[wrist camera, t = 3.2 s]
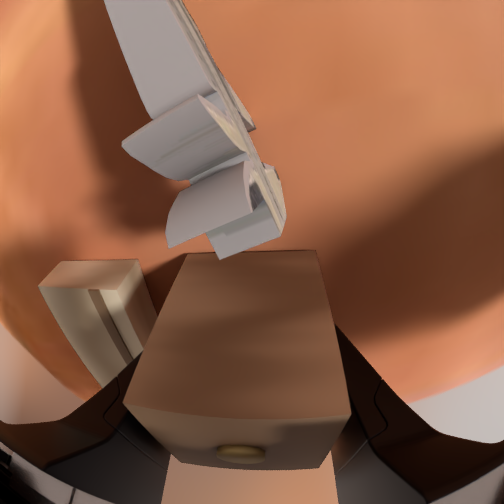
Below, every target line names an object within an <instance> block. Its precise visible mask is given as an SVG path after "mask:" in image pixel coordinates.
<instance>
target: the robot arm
mask: <svg viewBox="0 0 504 504" xmlns="http://www.w3.org/2000/svg"><path fill="white" fill-rule="evenodd" d="M334 326H335V331H336V335H337V340H338V345H339V350H340V354H341V359H342V364H343V370H344V375H345V380H346V386H347V391H348V397H349V403H350V409H351V415H350V417H349V419H348V421H347V423H346V425H345V426H344V428H343V430H342V432H341V433H340V435H339V437H338V438H337V440H336V442H335V443H334V445H333V447H332V448H331V454H332V460H333V467H334V474H335V480H336V488H337V495H338V502H339V504H504V440H503V441H501V442H498V443H482V442H477V441H472V440H467V439H462V438H458V437H454V436H450V435H446V434H443V433H441V432H439V431H437V430H435V429H434V428H432V427H431V426H430V425H429V424H427V423H426V422H425V421H424V420H423V419H422V418H421V417H420V416H419V415H418V414H416V413H415V412H414V411H413V410H412V409H411V408H410V407H409V406H408V405H407V404H406V403H405V402H404V401H403V400H402V399H401V398H399V397H398V396H397V394H396V393H395V392H394V391H393V390H392V389H391V388H390V387H389V386H388V384H387V383H386V382H385V381H384V380H383V379H382V377H381V376H380V375H379V374H378V373H377V372H376V370H375V369H374V368H373V367H372V366H371V365H370V364H369V362H368V361H367V360H366V359H365V358H364V357H363V355H362V354H361V353H360V352H359V351H358V350H357V348H356V347H355V346H354V345H353V344H352V343H351V342H350V340H349V339H348V338H347V337H346V336H345V335H344V334H343V332H342V331H341V330H340V329H339V328H338V327H337V326H336V324H335V323H334ZM142 352H143V351H142ZM142 352H141V353H140V354H139V355H138V356H136V357H135V358H134V359H133V360H132V361H131V362H130V363H129V364H128V365H127V366H126V367H125V368H124V369H123V370H122V371H121V372H120V373H119V374H118V375H117V376H115V377H114V378H113V379H112V380H111V381H110V382H109V383H108V384H107V385H106V386H105V387H104V388H102V389H101V390H100V391H99V392H98V393H97V394H95V395H94V396H93V397H92V398H90V399H89V400H88V401H86V402H85V403H84V404H83V405H81V406H80V407H79V408H77V409H76V410H75V411H73V412H72V413H71V414H69V415H68V416H66V417H64V418H62V419H60V420H57V421H50V422H41V423H30V424H6V423H4V422H2V421H1V420H0V442H2V443H3V444H4V445H5V446H7V447H8V448H9V449H11V450H12V451H13V455H10V454H9V453H7V452H6V451H4V450H3V449H1V448H0V504H161V501H162V495H163V490H164V485H165V480H166V475H167V470H168V465H169V460H170V455H171V453H170V452H169V451H168V450H167V449H166V448H165V447H164V446H163V445H161V444H160V443H159V442H158V441H157V440H156V439H155V438H154V437H153V436H152V435H151V434H150V433H149V431H148V430H147V429H146V428H145V427H144V426H143V425H142V424H141V423H140V422H139V421H138V420H137V419H136V418H135V416H134V415H133V414H132V413H131V412H130V411H129V410H128V408H127V407H126V406H125V405H124V404H123V400H124V398H125V395H126V392H127V390H128V387H129V385H130V382H131V380H132V377H133V374H134V372H135V370H136V367H137V365H138V362H139V360H140V357H141V355H142Z"/></svg>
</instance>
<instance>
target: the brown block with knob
mask: <svg viewBox="0 0 504 504" xmlns="http://www.w3.org/2000/svg"><path fill="white" fill-rule="evenodd" d="M123 404H124V405H125V406H126V407H127V408H128V410H129V411H130V412H131V413H132V414H133V415H134V416H135V418H136V419H137V420H138V421H139V422H140V423H141V424H142V425H143V426H144V427H145V428H146V429H147V430H148V431H149V433H150V434H151V435H152V436H153V437H154V438H155V439H156V440H157V441H158V442H159V443H160V444H161V445H163V446H164V447H165V448H166V449H167V450H168V451H169V452H170V453H171V454H172V455H173V456H174V457H175V458H177V459H178V460H179V461H180V462H182V463H188V464H195V465H202V466H209V467H218V468H229V469H244V470H296V469H313V468H319V467H320V465H321V464H322V462H323V461H324V459H325V458H326V456H327V455H328V453H329V451H330V450H331V448H332V447H333V445H334V443H335V442H336V440H337V438H338V437H339V435H340V433H341V432H342V430H343V428H344V426H345V425H346V423H347V421H348V419H349V417H350V415H351V409H350V403H349V397H348V391H347V386H346V380H345V375H344V370H343V364H342V359H341V354H340V350H339V345H338V340H337V335H336V331H335V326H334V322H333V318H332V313H331V309H330V305H329V301H328V297H327V292H326V288H325V284H324V280H323V277H322V273H321V269H320V265H319V261H318V258H317V254H316V250H311V251H274V252H239V253H236V254H233V255H231V256H228V257H226V258H223V259H221V260H219V258H218V256H217V254H216V253H199V254H187V256H186V258H185V260H184V262H183V264H182V266H181V268H180V271H179V273H178V275H177V277H176V279H175V281H174V283H173V285H172V287H171V289H170V292H169V294H168V296H167V298H166V300H165V302H164V305H163V307H162V309H161V311H160V313H159V316H158V318H157V320H156V322H155V325H154V327H153V329H152V331H151V334H150V336H149V338H148V341H147V343H146V345H145V348H144V350H143V352H142V355H141V357H140V360H139V362H138V365H137V367H136V370H135V372H134V374H133V377H132V380H131V382H130V385H129V387H128V390H127V392H126V395H125V398H124V400H123Z"/></svg>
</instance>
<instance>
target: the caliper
mask: <svg viewBox="0 0 504 504" xmlns="http://www.w3.org/2000/svg"><path fill="white" fill-rule="evenodd" d="M104 3H105V6H106V9H107V11H108V14H109V17H110V20H111V23H112V25H113V28H114V31H115V34H116V36H117V39H118V42H119V44H120V47H121V50H122V52H123V55H124V57H125V60H126V62H127V65H128V68H129V70H130V73H131V75H132V78H133V80H134V83H135V85H136V87H137V90H138V92H139V95H140V97H141V100H142V102H143V104H144V106H145V108H146V110H147V112H148V114H149V115H150V117H151V119H153V120H152V121H151V122H149V123H148V124H146V125H145V126H143V127H142V128H140V129H139V130H137V131H136V132H134V133H133V134H131V135H130V136H128V137H127V138H126V139H124V140H123V141H122V148H123V149H124V150H125V151H126V152H127V153H128V154H129V155H130V156H132V157H133V158H135V159H137V160H138V161H140V162H141V163H143V164H145V165H146V166H148V167H149V168H151V169H152V170H154V171H155V172H157V173H159V174H161V175H162V176H164V177H166V178H169V179H173V180H177V181H181V180H189V181H190V184H191V186H190V187H188V188H186V189H184V190H182V191H180V192H179V194H178V196H177V197H176V199H175V201H174V203H173V205H172V207H171V209H170V212H169V214H168V220H167V225H166V231H165V234H166V239H167V243H168V248H172V247H174V246H176V245H178V244H180V243H183V242H185V241H187V240H189V239H192V238H194V237H196V236H199V235H201V234H203V233H206V235H207V237H208V239H209V241H210V242H211V244H212V246H213V248H214V250H215V252H216V254H217V256H218V258H219V260H221V259H223V258H226V257H228V256H231V255H233V254H236V253H239V252H241V251H244V250H246V249H249V248H252V247H254V246H257V245H259V244H262V243H265V242H267V241H270V240H272V239H275V238H278V237H280V236H281V234H282V231H283V227H284V224H285V221H286V217H287V216H286V210H285V204H284V198H283V192H282V187H281V182H280V179H279V177H278V174H277V172H276V170H275V167H274V166H270V165H268V164H265V163H263V162H261V160H260V158H259V156H258V154H257V151H256V149H255V147H254V145H253V143H252V140H251V138H250V136H249V134H248V132H251V131H253V130H255V129H256V127H255V125H254V123H253V121H252V119H251V117H250V115H249V113H248V111H247V110H246V108H245V107H244V105H243V104H242V102H241V101H240V99H239V98H238V96H237V95H236V93H235V92H234V90H233V89H232V88H231V86H230V85H229V83H228V82H227V80H226V79H225V77H224V76H223V75H222V73H221V72H220V70H219V69H218V67H217V66H216V64H215V62H214V60H213V58H212V56H211V54H210V52H209V51H208V49H207V47H206V44H205V42H204V39H203V37H202V35H201V33H200V31H199V29H198V27H197V25H196V24H195V22H194V20H193V19H192V17H191V15H190V14H189V12H188V10H187V9H186V7H185V5H184V3H183V1H182V0H104Z"/></svg>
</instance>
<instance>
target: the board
mask: <svg viewBox="0 0 504 504" xmlns="http://www.w3.org/2000/svg"><path fill="white" fill-rule="evenodd" d="M38 288H39V290H40V292H41V294H42V296H43V298H44V300H45V301H46V303H47V305H48V307H49V309H50V311H51V312H52V314H53V316H54V318H55V319H56V321H57V323H58V325H59V326H60V328H61V330H62V331H63V333H64V334H65V336H66V338H67V339H68V341H69V342H70V344H71V345H72V347H73V348H74V350H75V351H76V353H77V354H78V356H79V357H80V359H81V360H82V362H83V363H84V364H85V366H86V367H87V369H88V370H89V371H90V373H91V374H92V375H93V377H94V378H95V379H96V380H97V382H98V383H99V384H100V386H101V387H102V388H104V387H105V386H106V385H107V384H108V383H109V382H110V381H111V380H112V379H113V378H114V377H115V376H117V375H118V374H119V373H120V372H121V371H122V370H123V369H124V368H125V367H126V366H127V365H128V364H129V363H130V362H131V361H132V360H133V359H134V358H135V357H136V356H138V355H139V354H140V353H141V352H142V351H143V350H144V348H145V345H146V343H147V341H148V338H149V336H150V334H151V331H152V329H153V327H154V325H155V322H156V320H157V318H158V317H157V314H156V311H155V309H154V306H153V303H152V300H151V297H150V295H149V292H148V289H147V286H146V283H145V280H144V277H143V273H142V270H141V267H140V264H139V261H138V259H128V260H87V261H61V262H60V263H59V264H58V265H57V266H56V267H55V268H54V269H53V270H52V271H51V272H50V273H49V274H48V275H47V276H46V277H45V278H44V279H43V280H42V282H41V283H40V284H39V285H38Z"/></svg>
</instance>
